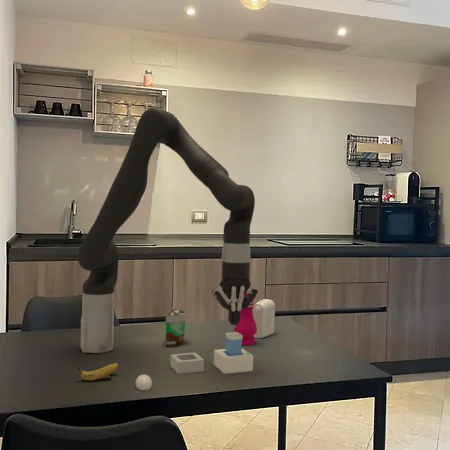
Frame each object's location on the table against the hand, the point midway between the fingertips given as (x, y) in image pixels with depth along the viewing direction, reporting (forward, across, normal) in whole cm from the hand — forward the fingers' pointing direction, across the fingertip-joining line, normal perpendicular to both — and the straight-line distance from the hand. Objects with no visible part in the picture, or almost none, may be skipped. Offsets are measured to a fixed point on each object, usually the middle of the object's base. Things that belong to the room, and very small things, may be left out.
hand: (234, 324), depth 141 cm
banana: (+13, -35, +4) cm, 38 cm away
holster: (+13, -12, +3) cm, 18 cm away
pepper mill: (+13, +15, +25) cm, 32 cm away
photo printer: (+13, +25, +32) cm, 43 cm away
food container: (+13, -6, +31) cm, 34 cm away
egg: (+13, -26, -7) cm, 30 cm away
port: (+13, 0, 0) cm, 13 cm away
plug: (+12, 0, 0) cm, 12 cm away
